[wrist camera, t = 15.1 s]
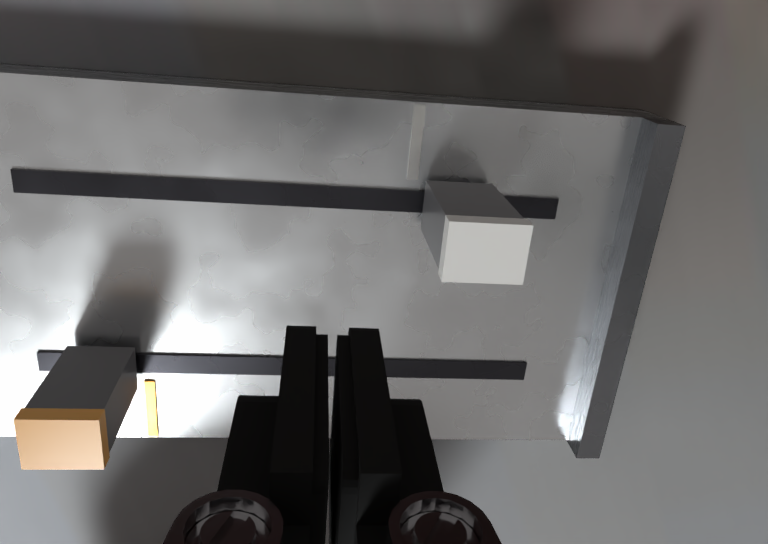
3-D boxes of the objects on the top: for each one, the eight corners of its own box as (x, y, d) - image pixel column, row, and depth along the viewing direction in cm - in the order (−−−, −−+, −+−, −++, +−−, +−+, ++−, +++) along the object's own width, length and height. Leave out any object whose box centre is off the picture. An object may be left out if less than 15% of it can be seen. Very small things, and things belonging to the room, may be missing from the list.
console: (642, 110, 25) (685, 125, 22) (572, 413, 31) (599, 458, 28) (-87, 57, 22) (-148, 68, 19) (-21, 406, 27) (-61, 455, 25)
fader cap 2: (494, 182, 23) (533, 225, 19) (486, 232, 24) (523, 284, 20) (424, 178, 23) (449, 221, 19) (419, 229, 24) (441, 281, 19)
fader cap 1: (136, 346, 24) (99, 420, 20) (139, 389, 25) (103, 469, 21) (65, 344, 24) (13, 419, 20) (71, 388, 25) (21, 469, 21)
